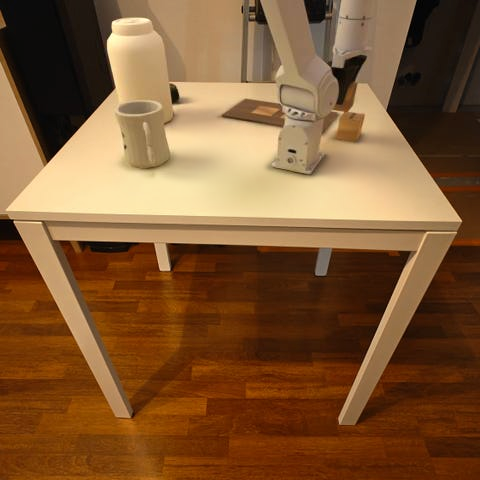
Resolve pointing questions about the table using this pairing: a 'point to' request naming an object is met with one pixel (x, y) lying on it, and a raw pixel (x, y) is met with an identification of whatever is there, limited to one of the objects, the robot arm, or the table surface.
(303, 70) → the robot arm
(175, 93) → the tape measure
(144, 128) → the mug
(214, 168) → the table surface
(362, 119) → the wooden cube
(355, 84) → the wooden block
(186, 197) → the table surface
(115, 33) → the white bottle
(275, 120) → the word mat
